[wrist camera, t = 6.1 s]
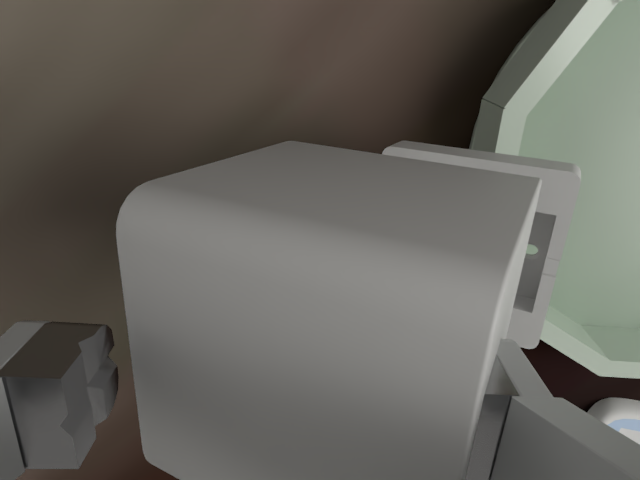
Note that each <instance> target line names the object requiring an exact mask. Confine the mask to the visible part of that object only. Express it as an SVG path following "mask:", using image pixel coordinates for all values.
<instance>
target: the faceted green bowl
mask: <svg viewBox="0 0 640 480" xmlns="http://www.w3.org/2000/svg"><path fill="white" fill-rule="evenodd" d="M482 98H483V99H482V100H481V106H480V112H479V115H478V117H477V120H476V123H475V125H474V129H473V133H472V138H471V142H470V146H469V149H471V150H478V151H485V152H493V153H500V154H508V155H515V156H522V157H530V158H537V159H545V160H552V161H559V162H567V163H573V164H576V165H577V166H578V167H579V168H580V170H581V184H580V189H579V192H578V196H577V200H576V204H575V208H574V211H573V215H572V219H571V223H570V226H569V230H568V234H567V238H566V242H565V245H564V249H563V253H562V257H561V260H560V262H559V266H558V269H557V273H556V279H555V283H554V287H553V291H552V295H551V298H550V302H549V306H548V310H547V313H546V317H545V321H544V325H543V329H542V332H541V336H540V339H541V340H542V341H544V342H546V343H547V344H549V345H550V346H552V347H554V348H555V349H557V350H559V351H560V352H562V353H563V354H565V355H567V356H568V357H570V358H571V359H573V360H575V361H576V362H578V363H579V364H581V365H583V366H584V367H586V368H587V369H589V370H591V371H592V372H594V373H595V374H597V375H599V376H607V377H623V378H640V0H556V1H555V3H554V4H553V5H552V7H550V8H549V9H548V10H547V11H546V12H545V13H544V14H543V15H542V16H541V17H540V18H539V19H538V20H537V21H536V22H535V24H534V25H533V26H532V27H531V28H530V29H529V31H528V32H527V33H526V34H525V35H524V37H523V38H522V39H521V40H520V41H519V42H518V44H517V45H516V46H515V48H514V49H513V51H512V52H511V54H510V55H509V57H508V58H507V60H506V61H505V63H504V64H503V66H502V67H501V69H500V70H499V72H498V74H497V76H496V78H495V79H494V81H493V83H492V85H491V87H490V88H489V90H488V91H487V92H486V94H485V95H484V96H483V97H482ZM537 252H538V249H537V247H536V246H534V245H530V244H528V245H527V250H526V253H527V254H536V253H537Z"/></svg>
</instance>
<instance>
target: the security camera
mask: <svg viewBox="0 0 640 480" xmlns="http://www.w3.org/2000/svg"><path fill="white" fill-rule="evenodd" d="M580 184H581V170H580V168H579V167H578V166H577V165H576V164H573V163H567V162H559V161H552V160H545V159H537V158H530V157H522V156H515V155H508V154H500V153H493V152H485V151H478V150H471V149H463V148H456V147H448V146H441V145H434V144H426V143H419V142H412V141H400V142H398V143H395V144H393V145H391V146H389V147H387V148H385V149H384V151H383V152H382V154H377V153H370V152H364V151H357V150H350V149H344V148H337V147H330V146H324V145H317V144H310V143H304V142H297V141H286V142H283V143H279V144H276V145H272V146H269V147H265V148H262V149H258V150H255V151H251V152H248V153H244V154H241V155H237V156H234V157H230V158H227V159H223V160H220V161H217V162H213V163H210V164H206V165H203V166H199V167H196V168H192V169H189V170H185V171H182V172H178V173H175V174H171V175H168V176H164V177H161V178H157V179H154V180H151V181H147V182H145V183H143V184H141V185H139V186H137V187H136V188H135V189H134V190H133V191H132V192H131V193H130V194H129V195H128V196H127V197H126V199H125V201H124V203H123V204H122V206H121V208H120V211H119V214H118V218H117V222H116V241H117V249H118V257H119V265H120V273H121V281H122V289H123V297H124V305H125V313H126V321H127V329H128V337H129V345H130V353H131V361H132V368H133V376H134V384H135V392H136V400H137V408H138V416H139V424H140V432H141V440H142V448H143V453H144V456H145V459H146V460H147V461H148V462H150V463H151V464H152V465H154V466H156V467H158V468H160V469H162V470H163V471H165V472H167V473H169V474H171V475H172V476H174V477H176V478H178V479H180V480H466V475H467V471H468V466H469V462H470V457H471V453H472V448H473V444H474V439H475V435H476V430H477V426H478V421H479V417H480V412H481V408H482V403H483V399H484V394H485V391H486V388H487V384H488V381H489V377H490V374H491V371H492V367H493V364H494V361H495V357H496V354H497V351H498V347H499V344H500V341H501V339H512V340H513V341H515V342H516V343H517V344H518V346H519V347H522V348H526V349H533V348H535V347H536V346H537V345H538V343H539V340H540V336H541V332H542V329H543V325H544V321H545V317H546V313H547V310H548V306H549V302H550V298H551V295H552V291H553V287H554V283H555V279H556V273H557V269H558V266H559V262H560V260H561V257H562V253H563V249H564V245H565V242H566V238H567V234H568V230H569V226H570V223H571V219H572V215H573V211H574V208H575V204H576V200H577V196H578V192H579V189H580ZM528 244H530V245H534V246H536V247H537V249H538V252H537V253H536V254H527V253H526V250H527V245H528Z"/></svg>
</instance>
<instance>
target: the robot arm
mask: <svg viewBox="0 0 640 480" xmlns="http://www.w3.org/2000/svg"><path fill="white" fill-rule="evenodd" d="M113 346H114V341H113V335H112V330H111V329H110V328H109V327H108V326H107V325H104V324H87V323H70V322H49V321H30V320H24V321H19V322H16V323H15V324H14V325H13V326H12V327H11V328H10V329H8V330H7V331H6V332H5V333H4V334H3V335H2V336H1V337H0V480H15V479H16V478H17V477H19V476H20V475H21V474H23V473H24V472H25V469H79V467H80V466H81V464H82V462H83V460H84V458H85V457H86V455H87V453H88V451H89V450H90V448H91V446H92V444H93V442H94V441H95V439H96V432H95V426H96V425H97V424H99V423H100V422H102V421H103V420H105V419H106V418H107V417H108V416H109V414H110V412H111V410H112V408H113V406H114V403H115V399H116V395H117V391H118V369H117V365H116V364H115V363H114V362H113V361H112V360H111V359H110V358H109V356H108V354H109V352H110V351H111V349H112V348H113ZM466 480H640V444H638V443H636V442H635V441H633V440H631V439H630V438H628V437H626V436H625V435H623V434H621V433H620V432H618V431H616V430H615V429H613V428H611V427H610V426H608V425H606V424H605V423H603V422H601V421H600V420H598V419H596V418H595V417H593V416H591V415H590V414H588V413H586V412H585V411H583V410H581V409H580V408H578V407H576V406H575V405H573V404H572V403H570V402H568V401H567V400H565V399H563V398H553V396H552V395H551V393H550V392H549V390H548V389H547V387H546V386H545V384H544V383H543V381H542V380H541V378H540V377H539V375H538V374H537V372H536V371H535V369H534V368H533V366H532V365H531V363H530V362H529V360H528V359H527V358H526V356H525V355H524V353H523V352H522V350H521V349H520V347H519V346H518V344H517V343H516V342H515V341H513V340H512V339H501V341H500V344H499V347H498V351H497V354H496V357H495V361H494V364H493V367H492V371H491V374H490V377H489V381H488V384H487V388H486V391H485V394H484V399H483V403H482V408H481V412H480V417H479V421H478V426H477V430H476V435H475V439H474V444H473V448H472V453H471V457H470V462H469V466H468V471H467V475H466Z"/></svg>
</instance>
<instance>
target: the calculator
mask: <svg viewBox="0 0 640 480" xmlns="http://www.w3.org/2000/svg"><path fill="white" fill-rule="evenodd" d="M587 413H588V414H590V415H591V416H593V417H595V418H596V419H598V420H600V421H601V422H603V423H605V424H606V425H608V426H610V427H611V428H613V429H615V430H616V431H618V432H620V433H621V434H623V435H625V436H626V437H628V438H630V439H631V440H633V441H635V442H636V443H638V444H640V401H637V400H631V399H625V398H606V399H601V400H600V401H598V402H597V403H595V404H594V405H593V406H592V407H591V408H590V409H589V410H588V412H587Z"/></svg>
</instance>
